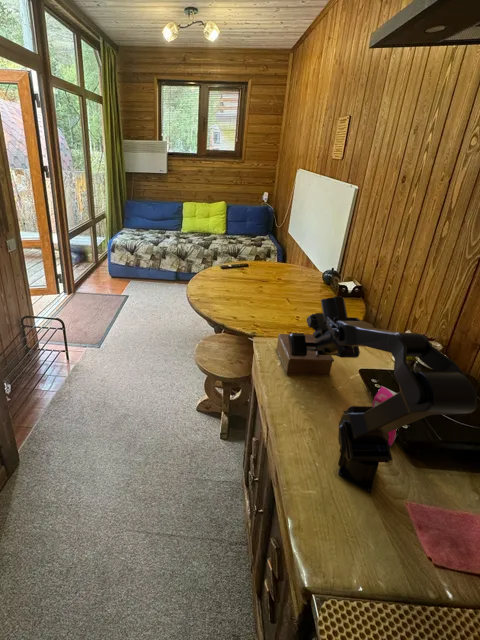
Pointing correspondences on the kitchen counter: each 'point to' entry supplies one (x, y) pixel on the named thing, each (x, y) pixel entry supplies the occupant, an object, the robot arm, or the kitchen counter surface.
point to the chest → (302, 364)
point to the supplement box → (379, 398)
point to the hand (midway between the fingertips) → (312, 349)
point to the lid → (310, 354)
